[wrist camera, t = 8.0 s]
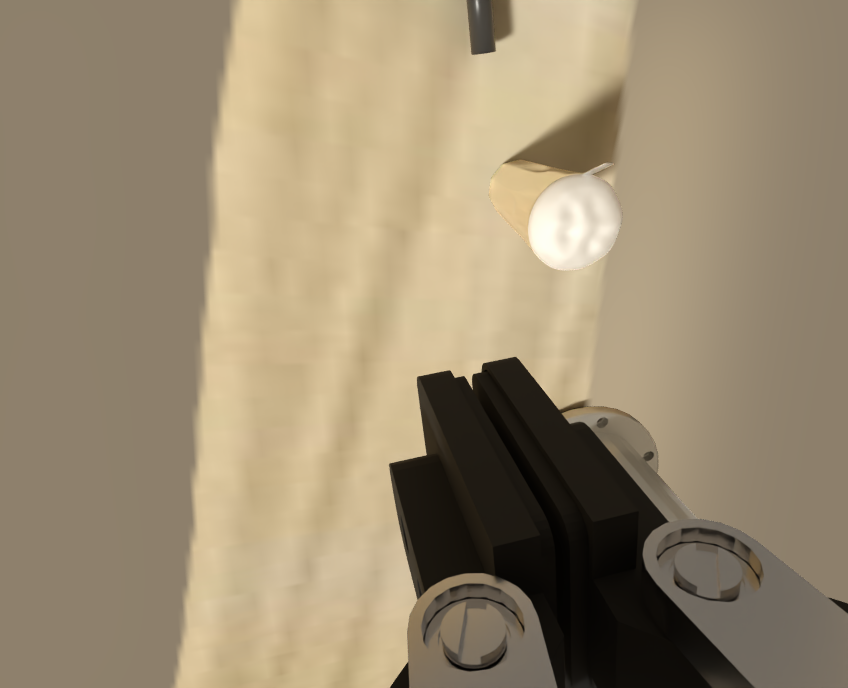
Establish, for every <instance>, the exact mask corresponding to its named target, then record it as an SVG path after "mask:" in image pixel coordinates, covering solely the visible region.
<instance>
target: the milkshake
mask: <svg viewBox="0 0 848 688" xmlns="http://www.w3.org/2000/svg"><path fill="white" fill-rule="evenodd" d="M614 164H615V163H604V164H601V165H599V166H597V167H595V168H593V169H591V170H589V171H587V172H585V173H579V172H574V171H568V170H563V169H558V168H554V167H550V166H546V165H542V164H538V163H534V162H530V161H526V160H522V159H519V160H515V161H512V162H508V163H504V164H503V165H502V166H501V167H500V168H499V169H498V170H497V172H496V173H495V174H494V175H493V176H492V177H491V182H490V189H489V198H490V200H491V202H492V203H493V205H494V207H495V209H496V211H497V212H498V213H499V214H500V215H501V217H502V218H503V219H504V220H505V221H506V222H507V223H508V224H509V225H510V226H511V227H512V228H513V229H514V230H515V231H516V232H517V233H518V235H519V236H520V237H521V238H522V239H523V240H524V241H525V242H526V244H527V245H528V246H529V247H530V248H531V250H532V251H533V252H534V253H535V254H536V256H537V257H538V258H539V259H540V260H541V261H542V262H544V263H545V264H546V265H548V266H550V267H551V268H554V269H557V270H577V269H581V268H584V267H587V266H589V265H591V264H592V263H594V262H596V261H598V260H599V259H601V258H602V257H603V256H605V255H606V254H607V253H608V252H609V251H610V249H611V248H612V246H613V245H614V243H615V241H616V239H617V236H618V233H619V230H620V227H621V224H622V218H623V217H622V216H623V214H622V208H621V205H620V202H619V199H618V197H617V195H616V192H615V191H614V189H613V188H612V186H611V185H610V184H609V183H608V182H606V181H605V180H603V179H602V178H600V177H597V176H594V175H592V174H595V173H597V172H599V171H601V170H603V169H605V168H608V167H610V166H612V165H614Z"/></svg>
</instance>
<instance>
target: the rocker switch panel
mask: <svg viewBox="0 0 848 688" xmlns="http://www.w3.org/2000/svg"><path fill="white" fill-rule="evenodd" d="M467 8H468V19H469V31H470V42H471V53H472V55H475V54H484V53H490V52H495V51H496V48H495V34H494V21H493V7H492V0H467Z"/></svg>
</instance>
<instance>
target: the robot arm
mask: <svg viewBox="0 0 848 688" xmlns="http://www.w3.org/2000/svg"><path fill="white" fill-rule="evenodd" d="M472 386H473V390H472V388H471V386H470V385H469V383H468V381H467V379H466V378H465V377H464V376H462V377H457V378H454V376H453V374H452V372H451V371H450V370H448V371H444V372H439V373H434V374H429V375H424V376H419V377H417V387H418V395H419V402H420V409H421V417H422V424H423V431H424V438H425V446H426V453H427V455H426V456H422V457H417V458H413V459H408V460H404V461H399V462H394V463H390V464H389V467H390V475H391V481H392V487H393V493H394V498H395V504H396V510H397V515H398V520H399V525H400V530H401V534H402V539H403V543H404V548H405V552H406V556H407V560H408V564H409V568H410V572H411V576H412V580H413V584H414V588H415V591H416V595H417V599H418V600H417V602H416V604H415V606H414V608H413V610H412V612H411V614H410V616H409V623H408V630H407V640H408V663H407V664H406V665H405V667H404V668H403V670H402V671H401V673H400V674H399V675H398V677H397V678H396V680H395V681H394V682H393V684H392V685H391V687H390V688H848V604H847V603H844V602H841V601H838V600H835V599H832V598H828V597H826V596H825V595H824V594H822V593H821V592H820V591H819V590H818V589H816V588H815V587H814V586H812V585H811V584H810V583H809V582H808V581H806V580H805V579H804V578H803V577H801V576H800V575H799V574H798V573H796V572H795V571H794V570H793V569H791V568H790V567H789V566H788V565H786V564H785V563H784V562H783V561H781V560H780V559H779V558H777V557H776V556H775V555H774V554H773V553H771V552H770V551H769V550H768V549H766V548H765V547H764V546H763V545H761V544H760V543H759V542H758V541H756V540H755V539H753V538H751V537H750V536H748V535H747V534H745V533H744V532H742V531H740V530H738V529H736V528H733V527H731V526H728V525H725V524H723V523H720V522H714V521H709V520H704V519H697V518H696V516H695V515H694V514H693V513H692V512H691V511H690V510H689V509H688V508H687V506H685V504H684V503H683V502H682V501H681V500H680V499H679V498H678V497H677V495H676V494H675V493H674V492H673V491H672V490H671V489H670V488H669V486H668V485H667V484H666V483H665V482H664V481H663V480H662V479H661V478H660V477H659V475H658V474H657V470H658V452H657V449H656V445H655V442H654V440H653V439H652V437H651V435H650V434H649V432H648V431H647V430H646V429H645V428H644V427H643V426H642V424H641V423H640V422H639V421H637V420H636V419H635V418H633V417H632V416H631V415H629V414H627V413H625V412H622V411H620V410H618V409H613V408H608V407H584V408H578V409H573V410H570V411H567V412H564V413H561V412H560V411H559V410H558V408H557V407H556V406H555V405H554V403H553V402H552V401H551V399H550V398H549V397H548V396H547V394H546V393H545V392H544V391H543V389H542V388H541V387H540V386H539V384H538V383H537V382H536V381H535V379H534V378H533V377H532V376H531V374H530V373H529V372H528V370H527V369H526V368H525V367H524V365H523V364H522V363H521V362H520V360H519V359H518V358H517V357H512V358H508V359H503V360H498V361H493V362H488V363H483V365H482V372H481V373H477V374H473V376H472Z"/></svg>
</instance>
